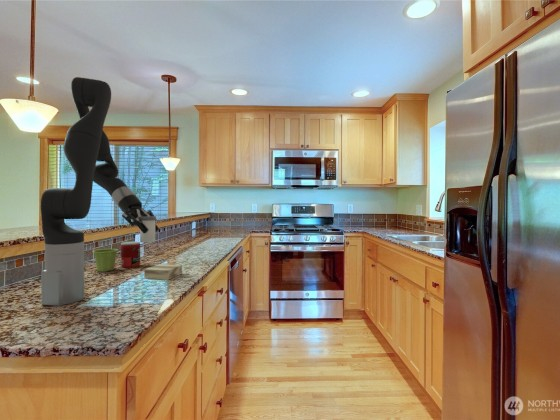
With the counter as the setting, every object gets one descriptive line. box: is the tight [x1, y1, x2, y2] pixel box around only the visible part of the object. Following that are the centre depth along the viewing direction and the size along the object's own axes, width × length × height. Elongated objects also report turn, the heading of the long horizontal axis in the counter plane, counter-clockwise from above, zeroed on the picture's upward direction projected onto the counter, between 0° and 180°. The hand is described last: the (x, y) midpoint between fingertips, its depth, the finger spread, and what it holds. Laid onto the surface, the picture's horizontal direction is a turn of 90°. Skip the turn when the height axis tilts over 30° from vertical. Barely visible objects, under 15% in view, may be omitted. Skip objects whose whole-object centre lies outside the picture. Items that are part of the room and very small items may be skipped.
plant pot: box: [91, 248, 119, 273], centre depth 121 cm, size 9×9×9 cm
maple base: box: [143, 263, 183, 281], centre depth 113 cm, size 10×10×4 cm
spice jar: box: [139, 215, 157, 244], centre depth 110 cm, size 6×6×10 cm
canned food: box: [120, 241, 141, 269], centre depth 129 cm, size 8×8×11 cm
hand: (151, 231), depth 110 cm, fingers closed on spice jar, 5 cm apart
